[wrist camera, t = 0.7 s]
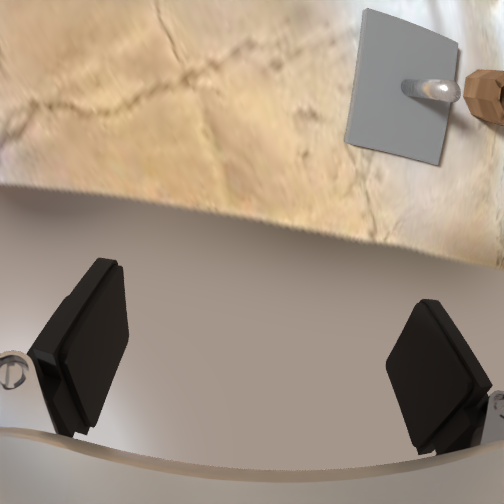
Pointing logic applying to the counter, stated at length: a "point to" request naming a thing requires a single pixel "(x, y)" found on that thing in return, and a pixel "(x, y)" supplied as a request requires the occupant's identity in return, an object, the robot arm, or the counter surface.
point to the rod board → (399, 88)
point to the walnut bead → (486, 95)
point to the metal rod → (432, 89)
